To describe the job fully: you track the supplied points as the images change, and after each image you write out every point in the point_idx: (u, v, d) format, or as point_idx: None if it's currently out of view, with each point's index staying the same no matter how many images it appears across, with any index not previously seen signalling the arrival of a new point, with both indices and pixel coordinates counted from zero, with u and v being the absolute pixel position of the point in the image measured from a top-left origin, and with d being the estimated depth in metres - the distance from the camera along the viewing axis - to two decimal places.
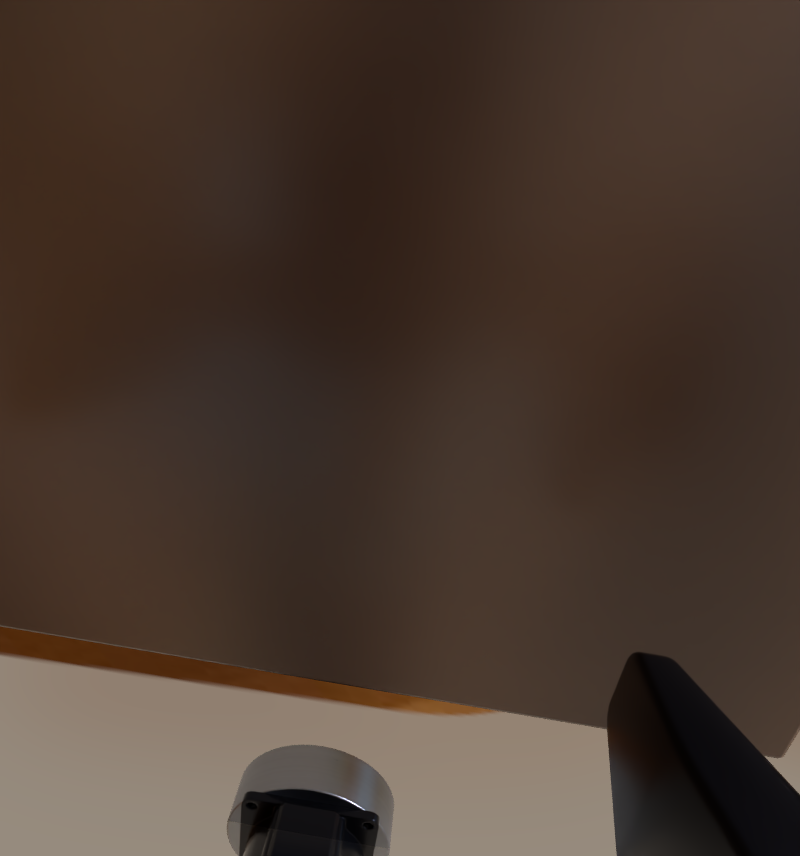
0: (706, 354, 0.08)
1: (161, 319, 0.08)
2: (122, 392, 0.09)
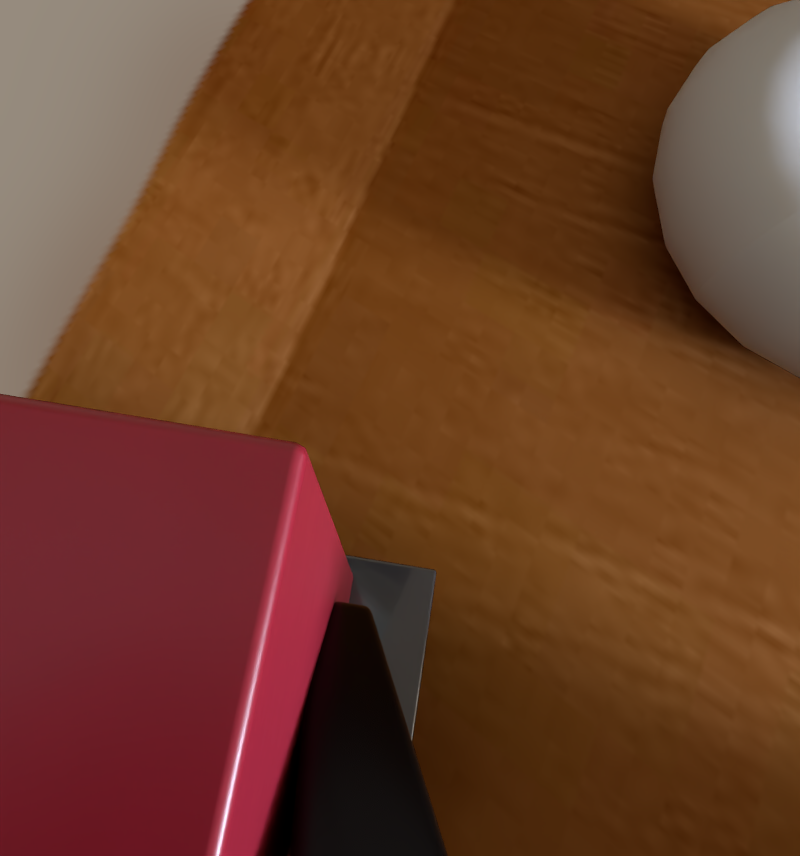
0: None
1: None
2: None
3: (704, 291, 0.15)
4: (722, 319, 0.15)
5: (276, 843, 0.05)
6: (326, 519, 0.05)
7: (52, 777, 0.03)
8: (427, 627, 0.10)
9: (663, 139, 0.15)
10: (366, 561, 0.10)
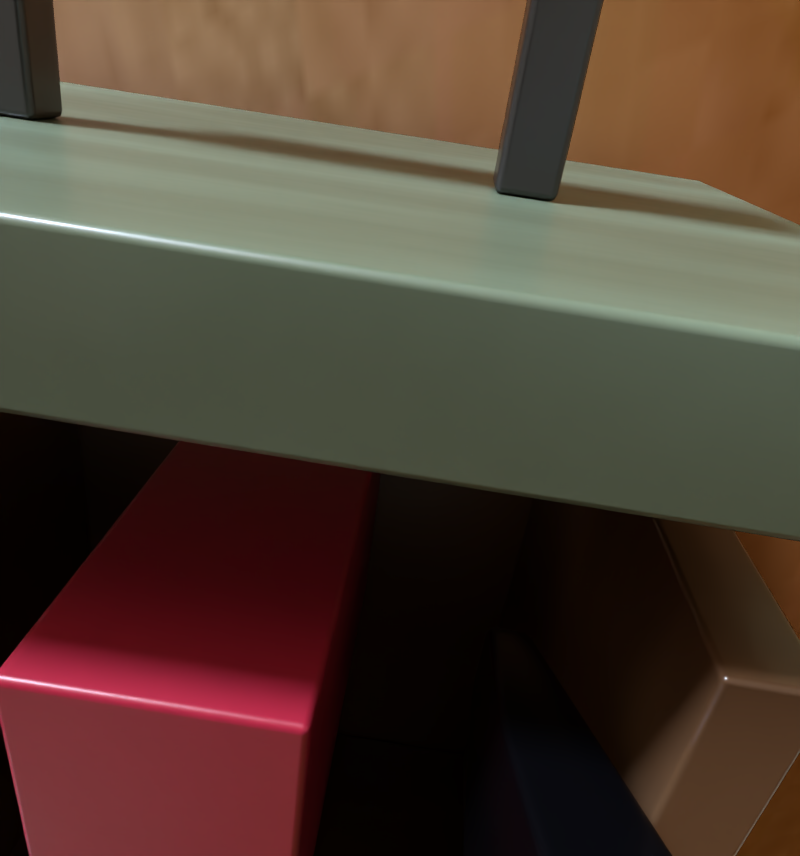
0: None
1: None
2: None
3: None
4: None
5: (337, 691, 0.09)
6: (341, 605, 0.07)
7: (212, 842, 0.06)
8: None
9: None
10: None
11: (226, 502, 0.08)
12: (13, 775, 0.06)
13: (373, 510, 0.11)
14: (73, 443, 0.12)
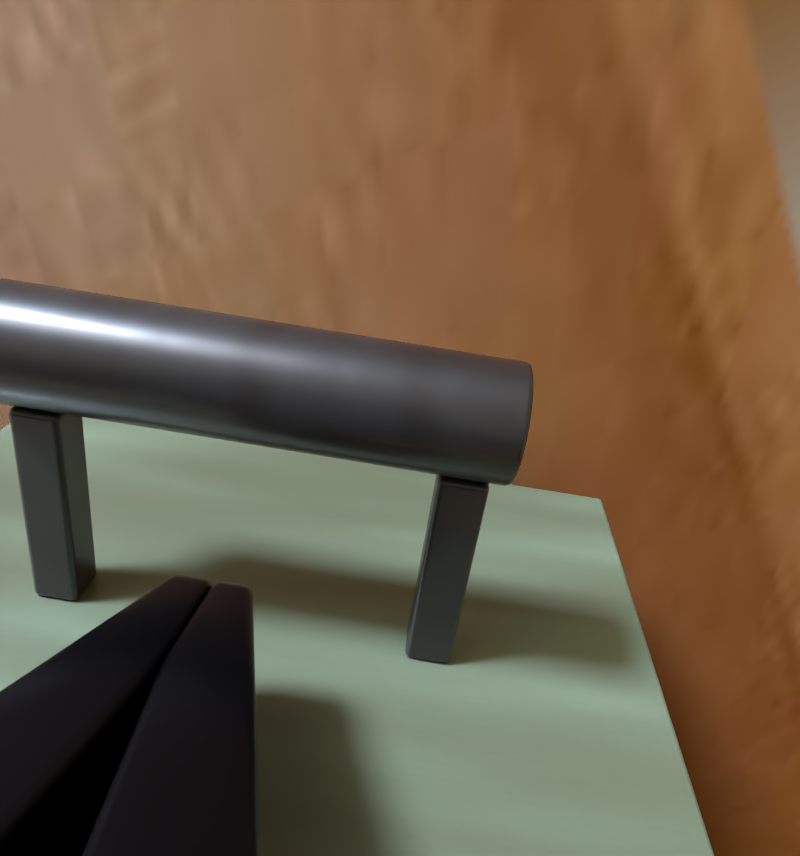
0: None
1: None
2: None
3: None
4: None
5: None
6: None
7: None
8: None
9: None
10: None
11: None
12: None
13: None
14: None
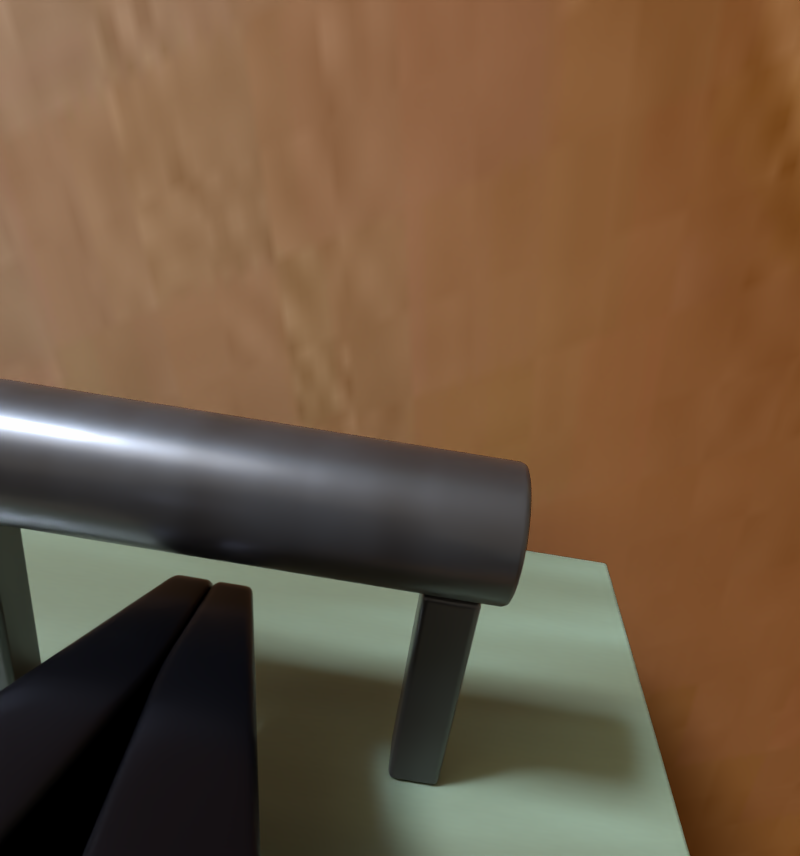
0: None
1: None
2: None
3: None
4: None
5: None
6: None
7: None
8: None
9: None
10: None
11: None
12: None
13: None
14: None
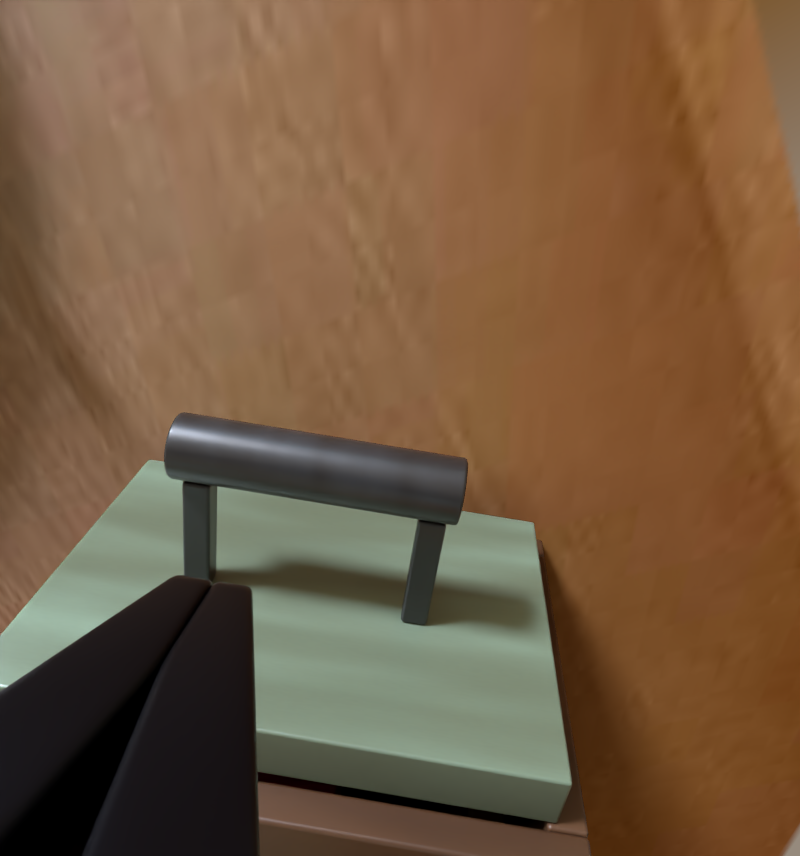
0: None
1: None
2: None
3: None
4: None
5: None
6: (336, 788, 0.16)
7: None
8: None
9: None
10: None
11: None
12: None
13: None
14: None
